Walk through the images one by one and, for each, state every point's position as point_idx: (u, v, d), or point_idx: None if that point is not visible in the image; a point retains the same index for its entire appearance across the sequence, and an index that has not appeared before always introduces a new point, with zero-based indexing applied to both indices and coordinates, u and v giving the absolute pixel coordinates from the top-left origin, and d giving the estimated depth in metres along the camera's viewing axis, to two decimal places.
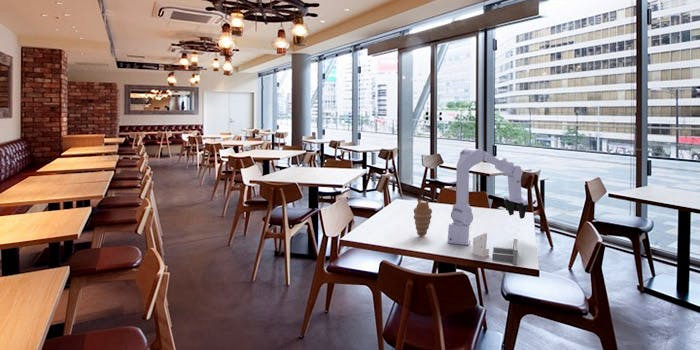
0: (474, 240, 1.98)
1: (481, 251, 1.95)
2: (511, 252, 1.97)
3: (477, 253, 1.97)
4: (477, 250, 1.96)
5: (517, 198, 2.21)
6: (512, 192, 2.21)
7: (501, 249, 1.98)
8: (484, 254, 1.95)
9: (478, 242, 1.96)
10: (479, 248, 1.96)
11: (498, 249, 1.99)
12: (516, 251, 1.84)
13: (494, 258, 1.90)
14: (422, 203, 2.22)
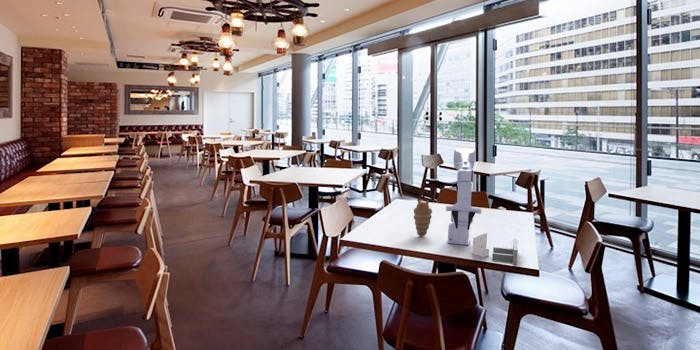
0: (474, 240, 1.98)
1: (481, 251, 1.95)
2: (511, 252, 1.97)
3: (477, 253, 1.97)
4: (477, 250, 1.96)
5: None
6: None
7: (501, 249, 1.98)
8: (484, 254, 1.95)
9: (478, 242, 1.96)
10: (479, 248, 1.95)
11: (498, 249, 1.99)
12: (516, 251, 1.84)
13: (494, 258, 1.90)
14: (422, 203, 2.22)
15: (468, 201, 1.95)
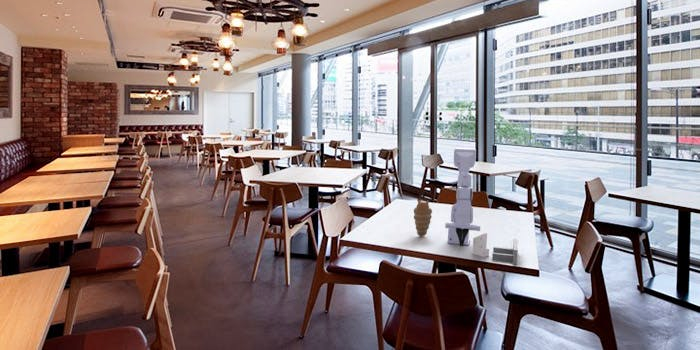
0: (474, 240, 1.98)
1: (481, 251, 1.95)
2: (511, 252, 1.97)
3: (477, 253, 1.97)
4: (477, 250, 1.96)
5: None
6: None
7: (501, 249, 1.98)
8: (484, 254, 1.95)
9: (478, 242, 1.96)
10: (479, 248, 1.95)
11: (498, 249, 1.99)
12: (516, 251, 1.84)
13: (494, 258, 1.90)
14: (422, 203, 2.22)
15: (467, 218, 1.96)
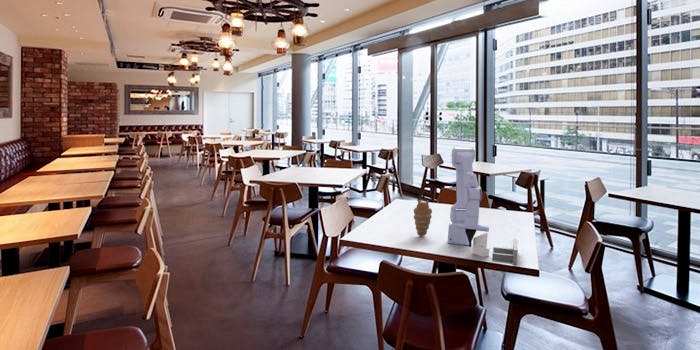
0: (474, 240, 1.98)
1: (481, 251, 1.95)
2: (511, 252, 1.97)
3: (477, 253, 1.97)
4: (477, 250, 1.96)
5: None
6: None
7: (501, 249, 1.98)
8: (484, 254, 1.95)
9: (478, 242, 1.96)
10: (479, 248, 1.95)
11: (498, 249, 1.99)
12: (516, 251, 1.84)
13: (494, 258, 1.90)
14: (422, 203, 2.22)
15: (476, 219, 1.95)
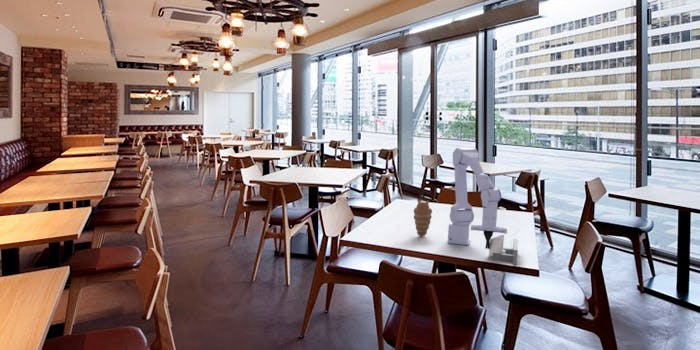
0: (491, 241, 1.95)
1: None
2: (511, 252, 1.97)
3: None
4: (493, 252, 1.94)
5: None
6: None
7: None
8: None
9: (495, 243, 1.93)
10: (495, 249, 1.93)
11: None
12: (516, 251, 1.84)
13: (494, 258, 1.90)
14: (422, 203, 2.22)
15: (494, 221, 1.92)
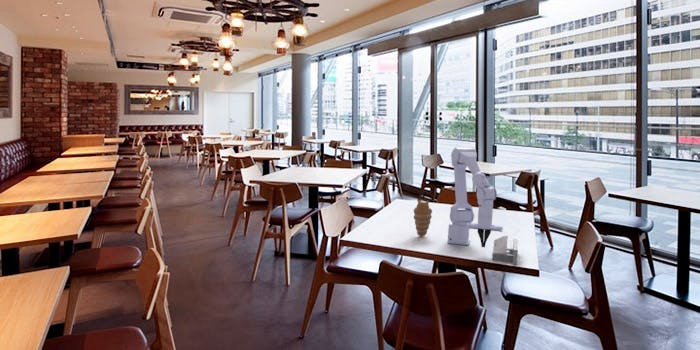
0: (495, 242, 1.95)
1: None
2: (511, 252, 1.97)
3: None
4: None
5: None
6: None
7: None
8: None
9: (498, 244, 1.93)
10: (499, 250, 1.92)
11: None
12: (516, 251, 1.84)
13: (494, 258, 1.90)
14: (422, 203, 2.22)
15: (489, 219, 1.93)
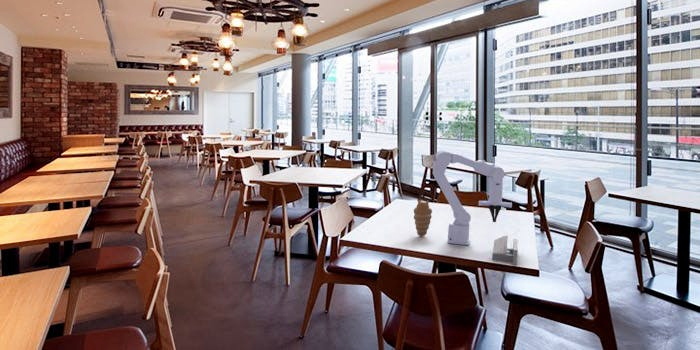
0: (495, 242, 1.95)
1: None
2: (511, 252, 1.97)
3: None
4: None
5: None
6: None
7: None
8: None
9: (498, 244, 1.93)
10: (499, 250, 1.92)
11: None
12: (516, 251, 1.84)
13: (494, 258, 1.90)
14: (422, 203, 2.22)
15: (500, 196, 2.10)
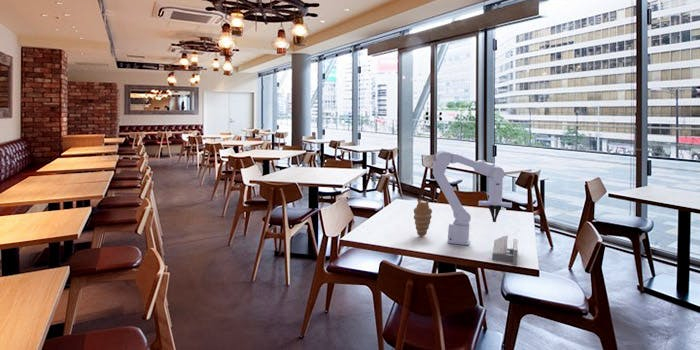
0: (495, 242, 1.95)
1: None
2: (511, 252, 1.97)
3: None
4: None
5: None
6: None
7: None
8: None
9: (498, 244, 1.93)
10: (499, 250, 1.92)
11: None
12: (516, 251, 1.84)
13: (494, 258, 1.90)
14: (422, 203, 2.22)
15: (500, 196, 2.10)
